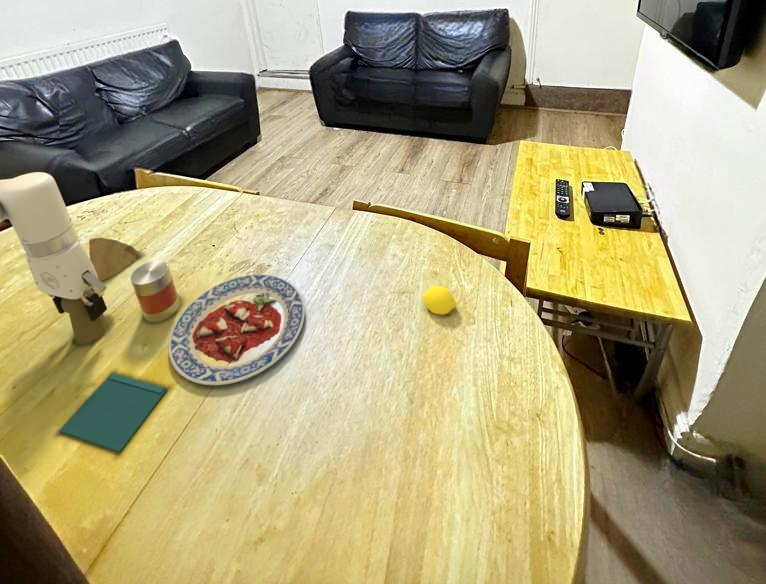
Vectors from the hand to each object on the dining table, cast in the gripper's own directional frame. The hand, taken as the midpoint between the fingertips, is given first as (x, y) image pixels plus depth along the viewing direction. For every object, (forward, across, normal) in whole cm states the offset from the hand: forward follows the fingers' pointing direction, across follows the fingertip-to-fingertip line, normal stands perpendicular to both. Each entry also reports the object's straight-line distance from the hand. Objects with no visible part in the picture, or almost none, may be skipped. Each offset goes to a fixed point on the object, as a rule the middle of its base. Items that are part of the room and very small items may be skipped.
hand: (83, 311), depth 81 cm
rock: (+6, -10, +16) cm, 20 cm away
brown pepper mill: (+6, 0, 0) cm, 6 cm away
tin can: (+6, +10, +8) cm, 14 cm away
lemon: (+6, +67, +22) cm, 71 cm away
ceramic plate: (+6, +29, +8) cm, 31 cm away
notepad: (+6, +18, -12) cm, 22 cm away
